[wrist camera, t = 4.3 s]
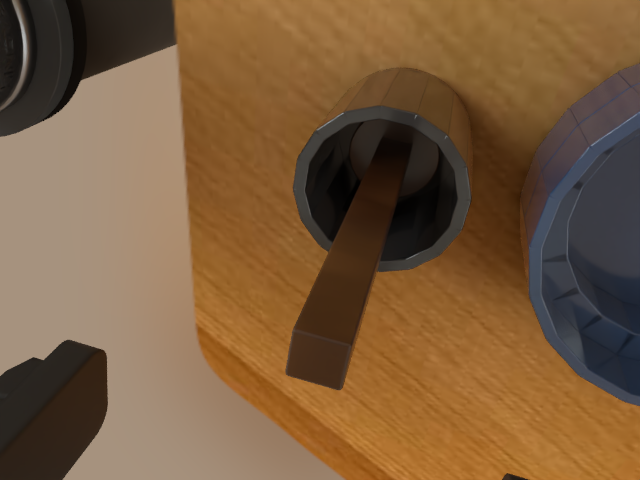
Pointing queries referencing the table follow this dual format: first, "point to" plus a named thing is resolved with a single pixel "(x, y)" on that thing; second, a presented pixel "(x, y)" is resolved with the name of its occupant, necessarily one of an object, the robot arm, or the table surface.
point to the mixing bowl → (589, 235)
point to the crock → (411, 211)
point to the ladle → (358, 248)
